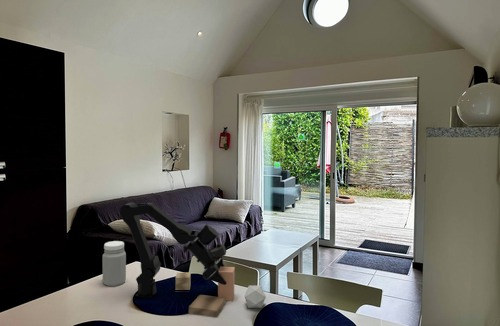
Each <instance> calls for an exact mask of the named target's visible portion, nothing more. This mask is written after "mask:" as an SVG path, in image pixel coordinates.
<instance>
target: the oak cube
mask: <svg viewBox="0 0 500 326" xmlns="http://www.w3.org/2000/svg"><path fill="white" fill-rule="evenodd" d="M190 289H191V271H188V272H187V271H186V272H185V271H184V272H183V271H182V272H176V275H175V290H190Z"/></svg>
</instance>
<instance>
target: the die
mask: <svg viewBox="0 0 500 326" xmlns="http://www.w3.org/2000/svg"><path fill="white" fill-rule="evenodd" d="M244 299H245V302H246V305H247V307H248V309H249V308H250V309H261V308H263V305H264V302H265V300H266V294H265V292H264V289H263V286H262V285H248V287H247V289H246V291H245V294H244Z"/></svg>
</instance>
